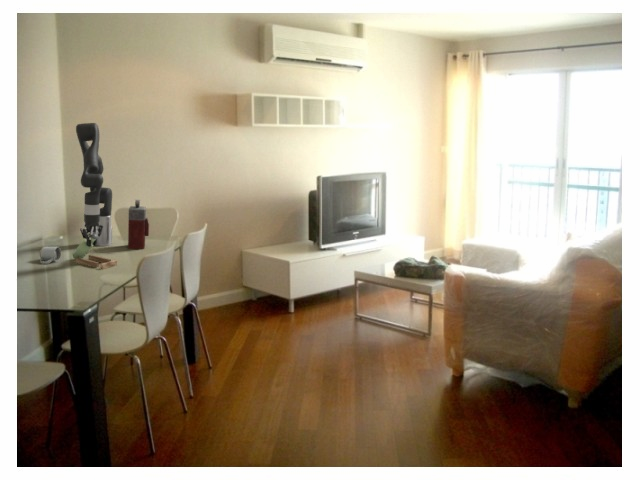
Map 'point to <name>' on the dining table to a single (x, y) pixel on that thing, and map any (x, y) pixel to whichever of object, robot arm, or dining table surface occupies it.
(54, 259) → the ceramic mug
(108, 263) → the rest
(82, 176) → the robot arm
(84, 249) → the bottle
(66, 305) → the dining table surface
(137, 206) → the dark red tall container
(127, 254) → the dining table surface
